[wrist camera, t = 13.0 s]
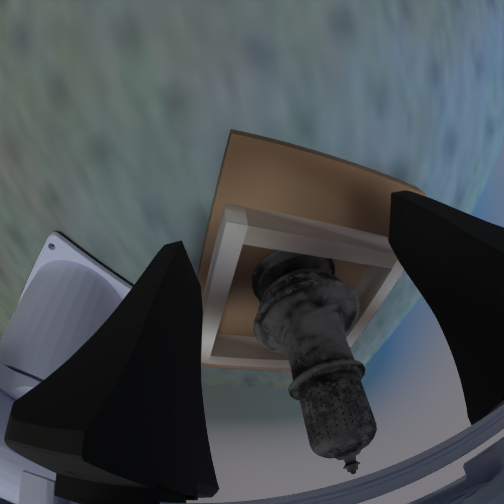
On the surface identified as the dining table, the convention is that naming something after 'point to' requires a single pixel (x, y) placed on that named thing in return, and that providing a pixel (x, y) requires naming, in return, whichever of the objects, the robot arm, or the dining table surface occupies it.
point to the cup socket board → (289, 238)
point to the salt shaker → (316, 349)
